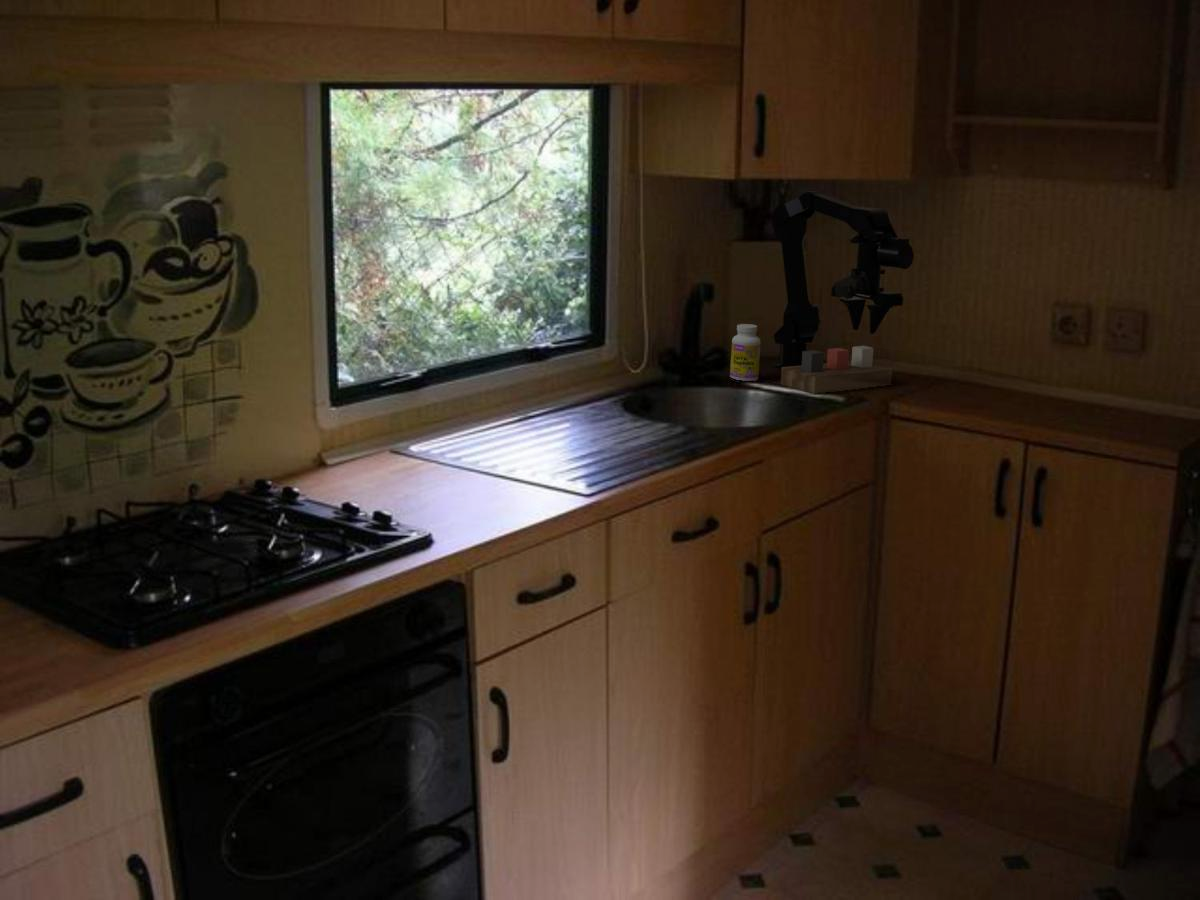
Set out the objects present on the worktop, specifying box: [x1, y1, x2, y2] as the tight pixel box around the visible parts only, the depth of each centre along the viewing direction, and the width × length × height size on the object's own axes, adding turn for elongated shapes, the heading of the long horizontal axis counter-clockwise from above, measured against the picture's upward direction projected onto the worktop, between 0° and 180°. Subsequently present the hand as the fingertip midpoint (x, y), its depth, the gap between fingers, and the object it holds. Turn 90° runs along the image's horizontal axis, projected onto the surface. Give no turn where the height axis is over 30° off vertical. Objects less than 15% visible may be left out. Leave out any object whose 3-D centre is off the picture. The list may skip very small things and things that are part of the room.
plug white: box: [851, 345, 874, 368], centre depth 319 cm, size 3×3×5 cm
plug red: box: [826, 347, 850, 370], centre depth 315 cm, size 3×3×5 cm
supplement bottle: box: [729, 323, 762, 382], centre depth 318 cm, size 7×7×13 cm
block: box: [780, 359, 893, 395], centre depth 316 cm, size 12×23×4 cm, turn 121°
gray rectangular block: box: [801, 349, 825, 373], centre depth 311 cm, size 3×3×5 cm
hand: (863, 331), depth 317 cm, fingers open, 5 cm apart
